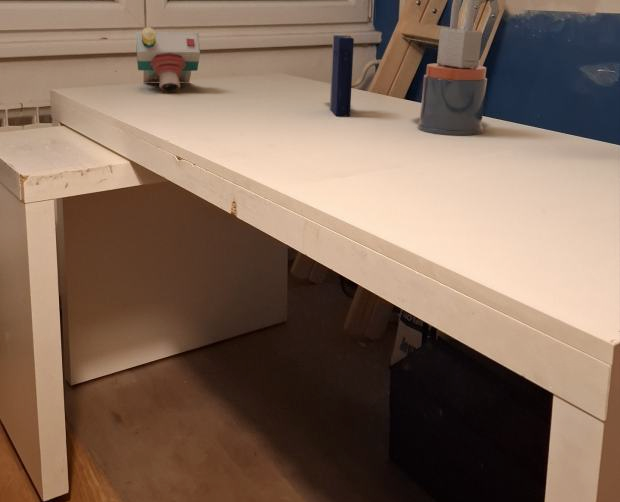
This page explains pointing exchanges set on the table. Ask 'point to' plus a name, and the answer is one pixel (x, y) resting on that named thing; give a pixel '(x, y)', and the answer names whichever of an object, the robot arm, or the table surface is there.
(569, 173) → the table surface
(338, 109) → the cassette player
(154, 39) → the toy camera
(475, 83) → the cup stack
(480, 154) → the table surface
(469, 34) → the padlock
